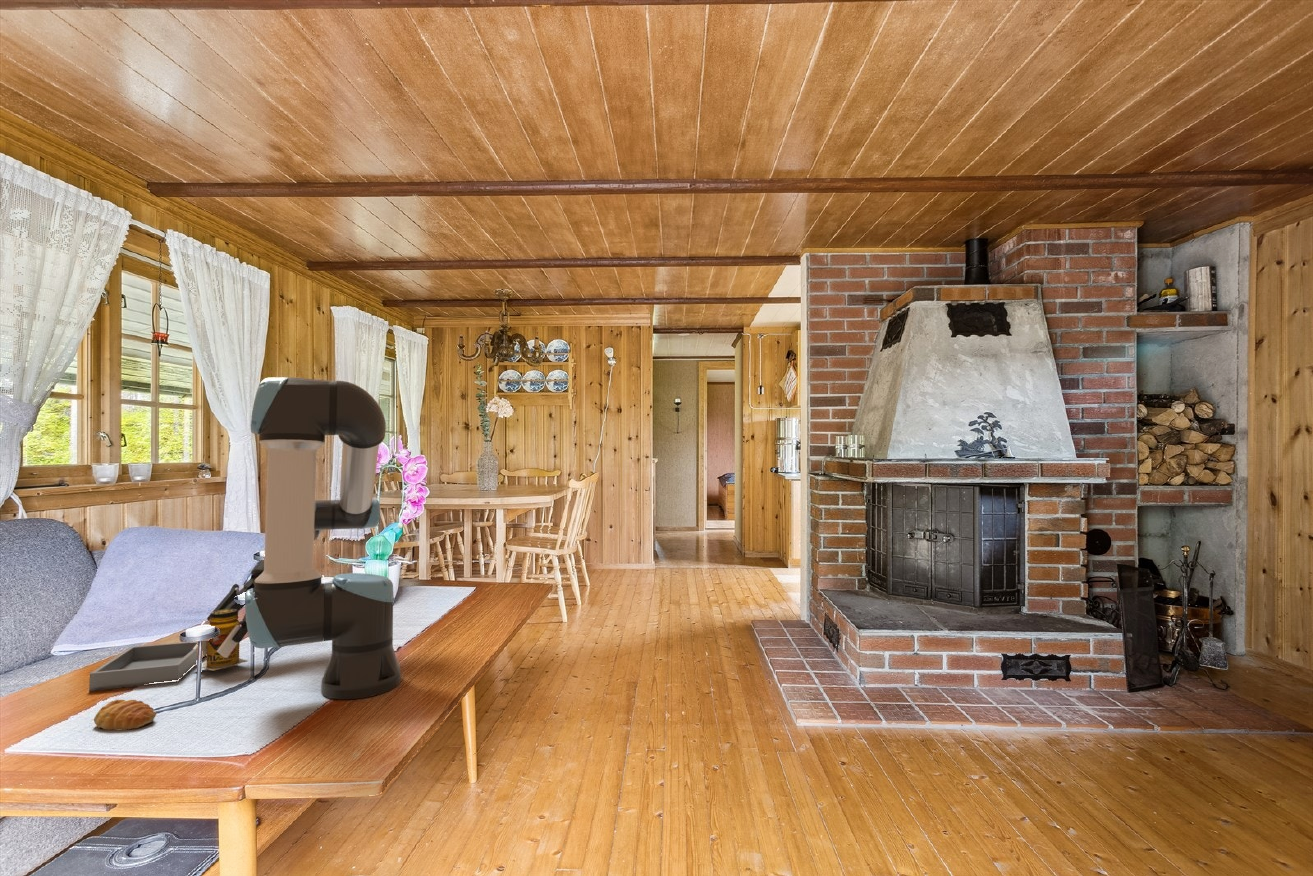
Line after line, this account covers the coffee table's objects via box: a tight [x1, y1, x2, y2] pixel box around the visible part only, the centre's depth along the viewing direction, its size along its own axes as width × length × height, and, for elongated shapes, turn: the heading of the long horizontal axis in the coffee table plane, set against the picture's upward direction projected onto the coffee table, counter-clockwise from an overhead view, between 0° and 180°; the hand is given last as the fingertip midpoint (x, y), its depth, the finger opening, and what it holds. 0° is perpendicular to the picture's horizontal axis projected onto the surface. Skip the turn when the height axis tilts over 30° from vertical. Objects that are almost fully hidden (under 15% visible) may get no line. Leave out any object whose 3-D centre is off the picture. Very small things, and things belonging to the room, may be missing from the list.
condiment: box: [194, 609, 248, 671], centre depth 138 cm, size 7×8×12 cm
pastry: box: [93, 699, 157, 731], centre depth 110 cm, size 9×7×4 cm
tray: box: [88, 641, 207, 692], centre depth 136 cm, size 19×15×4 cm
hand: (209, 653), depth 134 cm, fingers closed on condiment, 6 cm apart
